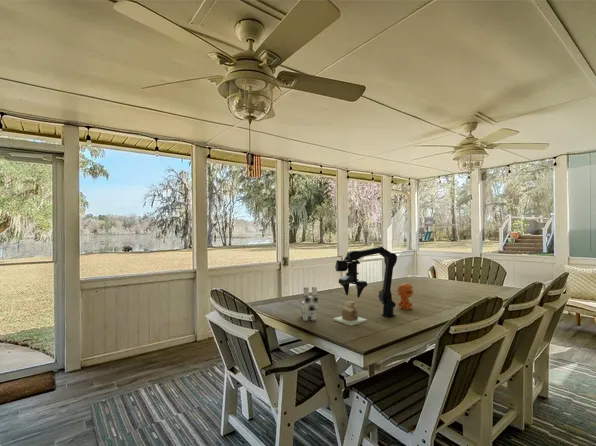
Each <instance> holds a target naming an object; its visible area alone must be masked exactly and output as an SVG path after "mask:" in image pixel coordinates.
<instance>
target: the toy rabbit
mask: <svg viewBox="0 0 596 446" xmlns="http://www.w3.org/2000/svg"><path fill="white" fill-rule="evenodd" d="M317 311H319V297H318V288H317V287H316V286H315V287H311V295H309V287H307V286H306V287H303V300H300V317H301V319H302V321H303V322H309V318H310V320H311V321H312V322H316V321H317Z"/></svg>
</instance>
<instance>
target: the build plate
mask: <svg viewBox="0 0 596 446" xmlns="http://www.w3.org/2000/svg"><path fill="white" fill-rule="evenodd" d="M332 320H333V321H334V322H338V323H341V324H344V325H347V326H357V325H359V324H362V323H366V322H367V321H368V318H363V317H359V316H358V319H356V320H352V321H349V320H345V319H342V315H341V316H337V317H333V319H332Z"/></svg>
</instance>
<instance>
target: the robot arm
mask: <svg viewBox="0 0 596 446" xmlns="http://www.w3.org/2000/svg"><path fill="white" fill-rule="evenodd" d="M377 254H379V255H380V256H381V257H382V258H384V265H385V266H384V267H385V268H384V269H385V271H384V278H383V285H382V289H381V290H378V299H379V301H380V303H381V304H382V305H383V308H382V311H383V312H382V314H381V316H382V317H386V318H392V317H395V316H396V314H394V310H395V309H394V308H395V307H396V305H397V304H396V302H395V301H394V300H393V295H392V291H391V288H392V279H393V271H394V268H395V266H396V264H397V260H398V255H397V254H396V253H393V252H391V251H389V250H387V249H386V248H384V247H382V246H377V247H372V248H367V249H360V250H348V251H347V253H346V256H345V258H344V259H343V260H338V259H337V260H336V262H335V272H345V275H344V276H343V277H342V278H341V277H340V278H339V279H338V284H340V286H342V287H343V289H344V292H345V295H346V296H348V295H349V291H350V285H351V284H352V285H356V286H355V288H356V294H357V298H358V299H359V298H360V297H361V295H362V292H363V290H364V289H365V288H366V287H368V282H367V281H366V280H359V279H358V275H359V272H358V265H360V264H361V262H360V261H359V259H361V258H363V257H368V256H372V255H377ZM346 271H347V272H346Z"/></svg>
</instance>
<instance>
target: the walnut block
mask: <svg viewBox="0 0 596 446" xmlns="http://www.w3.org/2000/svg"><path fill="white" fill-rule="evenodd" d="M341 316H342V319H345V320H349V321H352V320H356V319H358V317H359V310H357V309H356V311H352V312H349V311H345V310H344V309H342V310H341Z"/></svg>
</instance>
